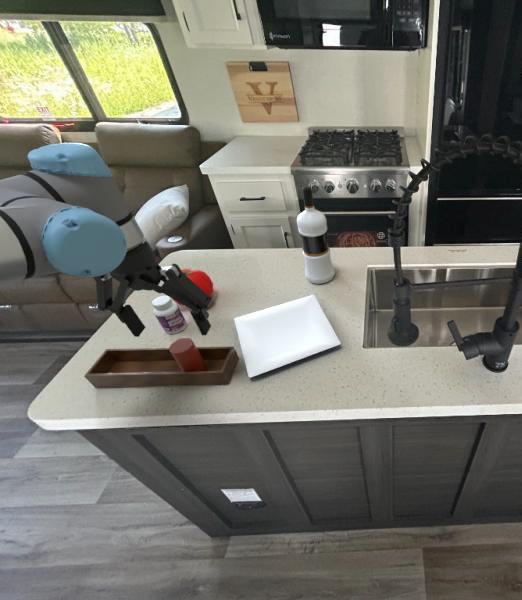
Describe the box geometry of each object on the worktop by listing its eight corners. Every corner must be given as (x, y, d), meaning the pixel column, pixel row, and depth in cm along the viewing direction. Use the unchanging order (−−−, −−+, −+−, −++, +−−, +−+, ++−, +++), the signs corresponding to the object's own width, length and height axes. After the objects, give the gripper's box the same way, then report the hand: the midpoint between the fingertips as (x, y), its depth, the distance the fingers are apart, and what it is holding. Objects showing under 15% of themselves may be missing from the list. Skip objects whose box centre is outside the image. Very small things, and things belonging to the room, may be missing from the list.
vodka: (320, 288, 103) (305, 197, 83) (300, 278, 107) (281, 188, 87) (340, 275, 109) (330, 186, 89) (320, 265, 113) (307, 178, 93)
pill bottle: (177, 336, 86) (161, 309, 80) (160, 332, 87) (143, 305, 81) (192, 322, 90) (177, 295, 84) (175, 319, 91) (160, 292, 85)
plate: (314, 299, 99) (313, 293, 98) (341, 348, 84) (341, 343, 83) (235, 323, 90) (233, 317, 89) (251, 382, 76) (248, 377, 74)
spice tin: (189, 382, 75) (172, 356, 69) (182, 370, 77) (166, 344, 72) (210, 371, 77) (195, 346, 71) (203, 360, 80) (189, 334, 74)
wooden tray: (95, 388, 73) (83, 376, 71) (116, 360, 79) (106, 348, 77) (228, 384, 75) (222, 372, 72) (239, 358, 81) (234, 346, 78)
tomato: (192, 319, 91) (176, 291, 84) (167, 302, 96) (151, 274, 89) (228, 298, 98) (216, 271, 91) (203, 283, 103) (190, 256, 97)
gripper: (204, 233, 59) (239, 318, 72) (58, 233, 57) (122, 320, 71) (186, 256, 53) (228, 343, 67) (23, 257, 52) (100, 346, 65)
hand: (173, 331), depth 69 cm, fingers open, 13 cm apart
